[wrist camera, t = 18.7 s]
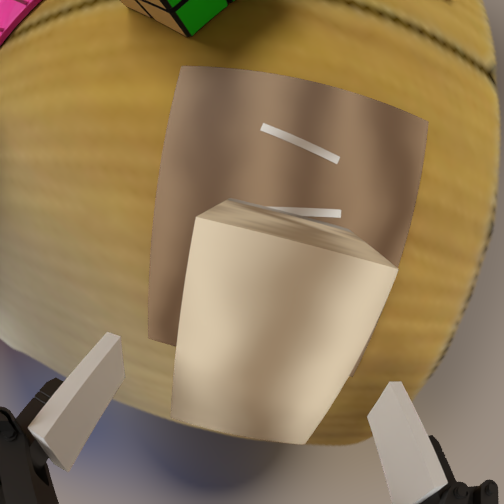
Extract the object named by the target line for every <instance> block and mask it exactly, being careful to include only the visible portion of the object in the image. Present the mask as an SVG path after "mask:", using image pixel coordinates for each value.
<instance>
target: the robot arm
mask: <svg viewBox="0 0 504 504" xmlns="http://www.w3.org/2000/svg"><path fill="white" fill-rule="evenodd" d="M124 379H125V370H124V362H123V354H122V344H121V336H118V335H115V334H112V333H109V332H107V333H106V334H105V335H104V336H103V337H102V338H101V339H100V340H99V342H98V343H97V344H96V345H95V346H94V347H93V348H92V349H91V351H90V352H89V353H88V354H87V355H86V356H85V357H84V359H83V360H82V361H81V362H80V363H79V364H78V366H77V367H76V368H75V369H74V370H73V371H72V373H71V374H70V375H69V376H68V377H67V378H66V380H65V381H64V382H63V381H61V380H59V379H57V378H54V379H52V380H50V381H49V382H47V383H46V384H45V385H44V386H43V387H42V388H41V389H40V392H38V393H37V394H36V395H35V398H33V399H32V400H31V401H30V402H29V403H28V405H27V406H26V407H25V408H24V409H23V411H22V412H21V413H20V414H19V416H18V417H17V418H16V419H15V417H14V416H13V414H12V413H11V411H10V410H8V409H7V408H5V407H0V504H59V502H58V500H57V497H56V494H55V490H54V487H53V484H52V480H51V477H50V473H49V469H48V465H47V463H46V461H47V459H48V458H50V459H51V461H52V462H53V463H54V464H55V465H57V466H58V467H60V468H62V469H63V470H65V471H67V472H69V471H70V469H71V467H72V466H73V464H74V462H75V460H76V458H77V457H78V455H79V453H80V451H81V450H82V448H83V446H84V444H85V443H86V441H87V439H88V438H89V436H90V434H91V432H92V431H93V429H94V427H95V426H96V424H97V422H98V421H99V419H100V417H101V416H102V414H103V412H104V411H105V409H106V407H107V406H108V404H109V403H110V401H111V399H112V398H113V396H114V395H115V393H116V391H117V390H118V388H119V386H120V385H121V383H122V382H123V380H124ZM367 418H368V421H369V424H370V427H371V430H372V434H373V437H374V440H375V443H376V447H377V450H378V453H379V457H380V460H381V464H382V467H383V471H384V474H385V478H386V482H387V486H388V489H389V493H390V497H391V501H392V504H498V487H497V484H496V483H495V482H494V481H493V480H486V481H485V482H483V483H482V484H481V485H480V486H474V487H468V486H467V485H466V484H465V483H463V482H457V481H456V480H455V478H454V475H453V473H452V471H451V468H450V466H449V464H448V462H447V459H446V458H445V455H444V452H442V448H441V446H440V444H439V442H438V441H437V440H436V439H435V438H434V437H433V435H431V436H428V435H427V433H426V431H425V428H424V426H423V424H422V422H421V420H420V418H419V416H418V414H417V412H416V410H415V408H414V406H413V404H412V402H411V400H410V398H409V396H408V394H407V392H406V390H405V388H404V386H403V384H402V382H401V381H400V382H389V383H388V385H387V386H386V388H385V390H384V391H383V393H382V394H381V396H380V398H379V399H378V401H377V402H376V404H375V405H374V407H373V408H372V410H371V411H370V413H369V414H368V416H367Z"/></svg>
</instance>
